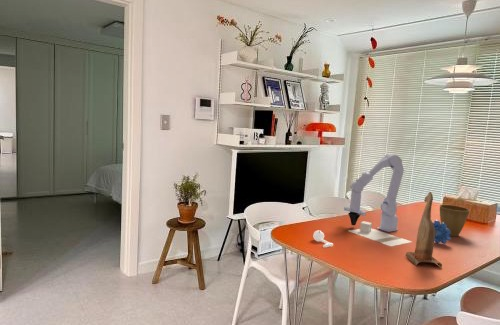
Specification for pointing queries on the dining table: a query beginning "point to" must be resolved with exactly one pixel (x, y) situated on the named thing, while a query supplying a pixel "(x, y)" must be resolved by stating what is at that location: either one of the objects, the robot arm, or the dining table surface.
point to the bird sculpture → (424, 237)
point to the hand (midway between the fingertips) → (353, 225)
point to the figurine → (321, 238)
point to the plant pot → (453, 218)
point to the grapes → (441, 232)
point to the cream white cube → (365, 227)
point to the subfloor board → (381, 237)
